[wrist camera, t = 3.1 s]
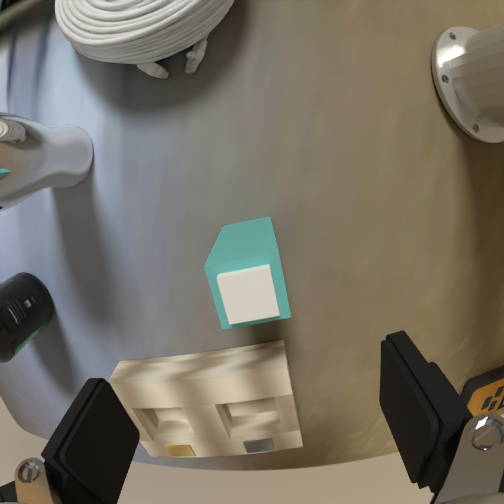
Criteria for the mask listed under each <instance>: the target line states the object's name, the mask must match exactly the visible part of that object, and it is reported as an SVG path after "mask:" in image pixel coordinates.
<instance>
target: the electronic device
mask: <svg viewBox="0 0 504 504" xmlns="http://www.w3.org/2000/svg"><path fill="white" fill-rule="evenodd" d="M460 397H461V399H462V400H463V402H464V403H465V405H466V406H467V408H468V409H469V410H470V412H471V413H472V415H473V416H474V417H475V416H477V415H480V414H484V413H492V412H494V411H496V410H498V409H500V408H502V407H504V366H503V367H501V368H498V369H496V370H493V371H490V372H488V373H485V374H483V375H480V376H477V377H474V378H472V379H470V380H468V381H467V382H466V384H465V385H464V388H463V391H462V393H461V396H460Z"/></svg>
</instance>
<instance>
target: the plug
mask: <svg viewBox="0 0 504 504" xmlns="http://www.w3.org/2000/svg"><path fill="white" fill-rule="evenodd" d="M204 267H205V270H206V274H207V277H208V281H209V285H210V288H211V292H212V295H213V299H214V302H215V305H216V309H217V312H218V316H219V319H220V322H221V326H222V329H223V330H224V329H230V328H236V327H242V326H248V325H253V324H259V323H265V322H270V321H275V320H280V319H286V318H291V314H290V308H289V303H288V298H287V292H286V287H285V282H284V277H283V271H282V266H281V261H280V256H279V251H278V247H277V243H276V238H275V234H274V230H273V226H272V222H271V218H270V216H269V217H264V218H259V219H254V220H249V221H245V222H240V223H235V224H230V225H226V226H223V228H222V230H221V232H220V234H219V236H218V238H217V240H216V242H215V244H214V246H213V249H212V251H211V253H210V255H209V257H208V259H207V261H206V264H205V266H204Z"/></svg>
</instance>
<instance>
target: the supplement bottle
mask: <svg viewBox="0 0 504 504" xmlns="http://www.w3.org/2000/svg"><path fill="white" fill-rule="evenodd" d="M51 317H52V302H51V298H50V295H49V293H48V291H47V289H46V288H45V286H44V285H43V283H42V282H41V281H40V280H39V279H38V278H36V277H35V276H34V275H32V274H29V273H25V272H22V273H18V274H16V275H14V276H13V277H11V278H9V279H8V280H6V281H5V282H3V283H1V284H0V363H4V362H8V361H10V360H11V359H12V358H13V357H14V356H15V355H16V354H17V353H18V352H19V351H20V350H21V349H22V348H23V347H24V346H25V345H26V344H27V343H28V342H29V341H30V340H31V339H32V338H33V337H34V336H36V335H37V334H38V333H39V332H40V331H41V330H42V329H43V328H44V327H45V326H46V325H47V324H48V323H49V321H50V319H51Z"/></svg>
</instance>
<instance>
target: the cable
mask: <svg viewBox="0 0 504 504" xmlns="http://www.w3.org/2000/svg"><path fill="white" fill-rule="evenodd" d="M234 1H235V0H55V14H56V19H57V22H58V24H59V27H60V29H61V31H62V33H63V35H64V36H65V38H66V39H67V40H68V41H69V42H70V43H71V45H72V46H73V47H74V48H75V49H76V50H77V51H78V52H79V53H80V54H82V55H84V56H86V57H88V58H90V59H93V60H97V61H103V62H112V63H123V64H136V65H137V67H138V68H139V69H141V70H142V71H144V72H145V73H147V74H149V75H150V76H153V77H155V78H165V79H166V78H167V77H168V75H169V73H168V72H167V71H166V70H165V68H164V67H162V66H160V65H158V64H156V63H154V62H155V61H157V60H160V59H163V58H166V57H169V56H171V55H174V54H176V53H178V52H180V51H182V50H184V49H186V48H188V47H190V46H192V45H193V44H195V45H194V46H193V48H192V50H191V51H190V52H188V53H187V54H186V57H188V59H187V63H186V66H185V69H184V71H185V73H188V74H191V73H194V72H196V69H197V66H198V64H199V63H200V62H201V61H202V59H203V57H204V54H205V50H206V46H207V43H208V42H207V41H206V39H207V37H208V34H209V32H211V31H212V30H213V29H214V28H215V27H216V26H217V25H218V24H219V23H220V22H221V20H222V19H223V18H224V16H225V15H226V14H227V12H228V11H229V9H230V7H231V6H232V4H233V2H234Z"/></svg>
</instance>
